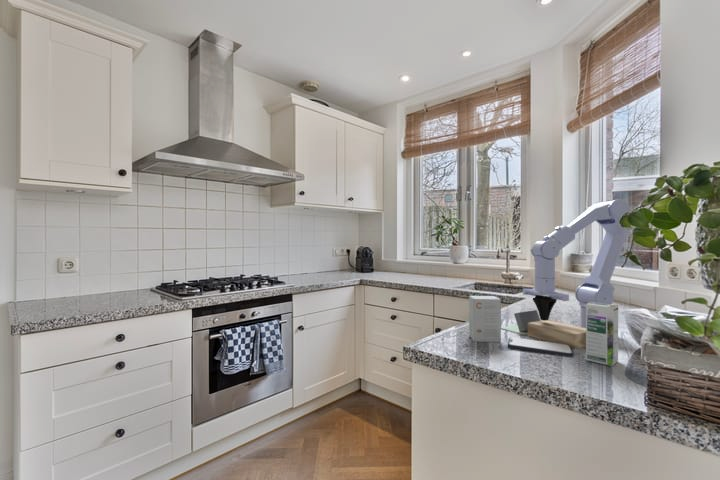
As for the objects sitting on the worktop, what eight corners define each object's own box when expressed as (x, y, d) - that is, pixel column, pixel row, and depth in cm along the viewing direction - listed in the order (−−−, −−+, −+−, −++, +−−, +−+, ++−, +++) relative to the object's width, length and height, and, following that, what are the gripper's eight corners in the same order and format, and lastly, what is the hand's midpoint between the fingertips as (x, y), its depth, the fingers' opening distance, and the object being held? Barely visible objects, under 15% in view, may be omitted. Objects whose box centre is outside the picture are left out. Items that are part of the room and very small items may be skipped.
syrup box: (584, 360, 86) (585, 303, 86) (592, 355, 90) (592, 301, 90) (612, 367, 82) (612, 306, 82) (618, 361, 85) (619, 304, 86)
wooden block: (547, 331, 113) (547, 319, 113) (595, 343, 100) (595, 330, 100) (527, 335, 109) (527, 322, 109) (575, 348, 96) (575, 334, 96)
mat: (523, 324, 123) (523, 323, 123) (546, 330, 115) (546, 329, 115) (499, 328, 117) (499, 327, 117) (522, 334, 109) (522, 333, 109)
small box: (494, 336, 107) (494, 295, 107) (501, 342, 101) (501, 299, 101) (468, 336, 108) (468, 295, 108) (473, 341, 102) (473, 298, 102)
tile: (542, 327, 114) (537, 328, 116) (536, 310, 116) (531, 311, 118) (524, 330, 110) (519, 331, 112) (518, 312, 112) (514, 313, 114)
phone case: (570, 350, 96) (508, 341, 103) (570, 344, 96) (509, 336, 103) (574, 360, 88) (507, 350, 95) (574, 354, 88) (507, 344, 95)
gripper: (516, 276, 114) (516, 316, 114) (558, 280, 101) (558, 326, 101) (530, 275, 117) (530, 314, 117) (573, 279, 104) (573, 323, 104)
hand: (544, 320), depth 109 cm, fingers closed
